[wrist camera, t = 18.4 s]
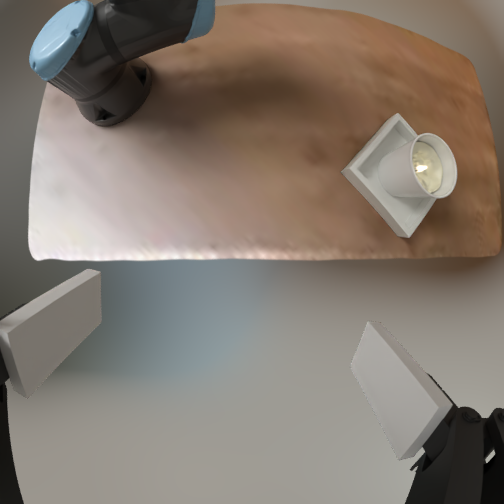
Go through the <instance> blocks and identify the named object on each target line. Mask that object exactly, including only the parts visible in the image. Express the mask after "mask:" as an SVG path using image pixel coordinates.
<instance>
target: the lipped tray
mask: <svg viewBox="0 0 504 504" xmlns="http://www.w3.org/2000/svg"><path fill="white" fill-rule="evenodd" d="M417 136H418V135H417V134H416V133H415V131H414V130H413V129H412V128H411V127H410V126H409V124H408V123H407V122H406V121H405V120H404V119H403V118H402V117H401V115H400V114H399V113H397V114H395V115H394V116H392V117H390V118H389V119H388V120H387V121H386V122H385V123H384V124H383V125H382V126H381V128H380V129H379V130H378V131H377V132H376V133H375V134H374V135H373V137H372V138H371V139H370V140H369V141H368V142H367V143H366V144H365V146H364V147H363V148H362V149H361V150H360V151H359V152H358V153H357V155H356V156H355V157H354V158H353V159H352V160H351V161H350V162H349V164H348V165H347V166H346V167H345V168H344V169H343V170H342V171H341V173H342V174H343V175H344V176H345V177H346V178H347V179H348V181H349V182H350V183H351V184H352V185H353V186H354V187H355V188H356V189H357V190H358V191H359V192H360V193H361V194H362V195H363V197H364V198H365V199H366V200H367V201H368V202H369V203H370V204H371V205H372V207H373V208H374V209H375V210H376V211H377V212H378V213H379V215H380V216H381V217H382V218H383V219H384V220H385V222H386V223H387V224H388V225H389V226H390V228H391V229H392V230H393V231H394V232H395V234H396V235H397V236H398V237H406V238H410V236H411V235H412V234H413V232H414V231H415V229H416V228H417V227H418V225H419V224H420V222H421V221H422V220H423V218H424V217H425V215H426V214H427V212H428V211H429V209H430V208H431V206H432V205H433V203H434V202H435V200H436V199H437V198H400V197H395V196H392V195H390V194H389V193H388V192H387V191H386V190H385V189H384V188H383V186H382V185H381V183H380V180H379V176H378V167H379V163H380V161H381V159H382V158H383V157H384V156H385V155H386V154H388V153H389V152H391V151H393V150H395V149H396V148H398V147H400V146H402V145H404V144H405V143H407V142H409V141H411V140H413V139H414V138H416V137H417Z"/></svg>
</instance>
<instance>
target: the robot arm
mask: <svg viewBox="0 0 504 504" xmlns="http://www.w3.org/2000/svg"><path fill="white" fill-rule="evenodd" d="M214 19H215V0H104V1H102V2H100V3H98V4H96V5H93V4H92V3H91V2H89V1H86V0H81V1H76V2H73V3H71V4H69V5H67V6H66V7H64V8H63V9H61V10H60V11H59V12H58V13H56V14H55V15H54V16H53V17H52V18H51V19H50V20H49V21H48V22H47V24H46V25H45V26H44V27H43V29H42V30H41V32H40V33H39V34H38V36H37V38H36V40H35V41H34V44H33V46H32V49H31V52H30V60H29V61H30V65H31V68H32V69H33V70H34V71H35V72H36V73H37V74H38V75H39V76H40V77H41V78H42V79H43V80H45V81H47V82H49V83H50V84H52V85H53V86H55V87H57V88H58V89H60V90H61V91H63V92H64V93H66V94H67V95H69V96H70V97H72V98H73V99H75V101H76V104H77V106H78V108H79V110H80V112H81V114H82V115H83V116H84V117H85V118H86V119H87V120H88V121H90V122H92V123H93V124H96V125H99V126H109V125H114V124H117V123H119V122H121V121H123V120H125V119H127V118H128V117H130V116H131V115H132V114H133V113H135V112H136V111H137V110H138V109H139V108H140V106H141V105H142V104H143V102H144V101H145V99H146V98H147V96H148V94H149V91H150V88H151V82H152V78H151V73H150V70H149V69H148V67H147V65H146V64H145V63H144V61H142V60H141V59H140V58H138V57H141V56H143V55H146V54H148V53H151V52H154V51H156V50H159V49H162V48H165V47H168V46H171V45H174V44H177V43H185V42H187V41H188V40H191V39H194V38H197V37H201V36H204V35H206V34H207V33H208V32H209V31H210V30H211V29H212V27H213V24H214ZM101 322H102V321H101V272H99V271H95V270H91V269H87V270H85V271H83V272H81V273H80V274H78V275H76V276H74V277H72V278H71V279H69V280H67V281H65V282H63V283H62V284H60V285H58V286H56V287H55V288H53V289H51V290H50V291H48V292H46V293H45V294H43V295H41V296H39V297H38V298H36V299H34V300H33V301H31V302H28V303H25V304H22V305H20V306H19V307H17V308H16V309H15V310H12V311H11V312H9V313H8V314H6V315H4V316H3V317H1V318H0V504H24V503H23V500H22V496H21V493H20V488H19V484H18V480H17V476H16V471H15V466H14V462H13V455H12V449H11V442H10V434H9V424H8V410H7V388H6V385H5V381H6V380H7V379H9V378H10V381H11V384H12V386H13V389H14V390H15V391H16V392H18V393H19V394H21V395H23V396H24V397H26V398H27V399H28V398H29V397H30V396H31V395H32V394H33V392H34V391H35V390H36V389H37V388H38V387H39V386H40V385H41V384H42V383H43V381H44V380H45V379H46V378H47V377H48V376H49V375H50V374H51V373H52V372H53V371H54V370H55V369H56V368H57V367H58V365H59V364H60V363H61V362H62V361H63V360H64V359H65V358H66V357H67V356H68V355H69V354H70V353H71V352H72V351H73V350H74V349H75V348H76V347H77V346H78V345H79V344H80V343H81V342H82V341H83V340H84V339H85V338H86V337H87V336H88V335H89V334H90V333H91V332H92V331H93V330H94V329H95V328H96V327H97V326H98V325H99V324H100V323H101ZM350 368H351V370H352V371H353V373H354V375H355V377H356V379H357V381H358V383H359V384H360V386H361V388H362V390H363V392H364V394H365V396H366V398H367V399H368V402H369V403H370V405H371V407H372V409H373V411H374V413H375V415H376V417H377V419H378V421H379V422H380V425H381V427H382V428H383V431H384V433H385V435H386V436H387V439H388V440H389V442H390V444H391V446H392V449H393V451H394V453H395V454H396V457H397V458H398V460H402V459H406V458H410V457H414V456H415V454H416V453H417V452H418V451H419V450H420V449H421V447H423V448H424V450H425V453H424V454H423V455H422V456H421V457H420V458H419V460H418V461H417V462H416V463H415V464H414V465H413V466H412V467H411V469H410V470H411V471H412V470H413V469H414V468H415V467H417V466H418V468H417V470H416V474H415V478H414V480H413V483H412V486H411V489H410V492H409V494H408V497H407V500H406V502H405V504H504V409H502V408H496V409H494V411H493V412H492V413H491V415H490V416H489V418H481V416H480V414H479V413H478V412H477V411H475V410H474V409H472V408H470V407H460V408H458V407H457V406H456V404H455V403H454V402H453V401H452V400H451V399H450V397H449V396H448V395H447V394H446V393H445V391H443V390H442V388H441V387H440V386H439V384H438V385H437V382H436V381H435V380H434V379H433V378H432V376H430V375H429V374H427V373H426V372H425V371H424V370H423V369H422V368H421V367H420V365H419V364H418V363H417V362H416V361H415V360H414V359H413V357H412V356H411V355H410V354H409V353H408V352H407V351H406V350H405V349H404V348H403V346H402V345H401V344H400V343H399V342H398V341H397V340H396V339H395V338H394V337H393V336H392V334H391V333H390V332H389V331H388V330H387V329H386V328H385V327H384V326H383V325H382V324H381V323H380V322H373V321H368V322H367V324H366V327H365V330H364V332H363V335H362V338H361V340H360V343H359V346H358V348H357V350H356V353H355V355H354V358H353V360H352V362H351V365H350ZM493 450H494V451H495V455H494V457H493V458H492V459H491V460H490V461H489V462H488V463H486V461H485V459H486V458H487V457H488V455H489V454H490V453H491V452H492V451H493Z"/></svg>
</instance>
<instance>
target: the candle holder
mask: <svg viewBox="0 0 504 504" xmlns="http://www.w3.org/2000/svg"><path fill="white" fill-rule="evenodd" d="M378 176H379V180H380V183H381V185H382V186H383V188H384V189H385V190H386V191H387V192H388V193H389V194H390V195H392V196H395V197H400V198H444V197H447V196H448V195H449V194H450V193H451V192H452V191H453V189H454V187H455V185H456V181H457V166H456V161H455V158H454V156H453V153H452V151H451V150H450V148H449V146H448V145H447V144H446V143H445V142H444V141H443V140H442V139H441V138H440V137H438V136H437V135H434V134H431V133H423V134H421V135H419V136H417V137H416V138H414V139H413V140H411V141H409V142H407V143H405V144H404V145H402V146H400V147H398V148H396V149H395V150H393V151H391V152H389V153H388V154H386V155H385V156H384V157H383V158H382V159H381V161H380V163H379V167H378Z"/></svg>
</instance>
